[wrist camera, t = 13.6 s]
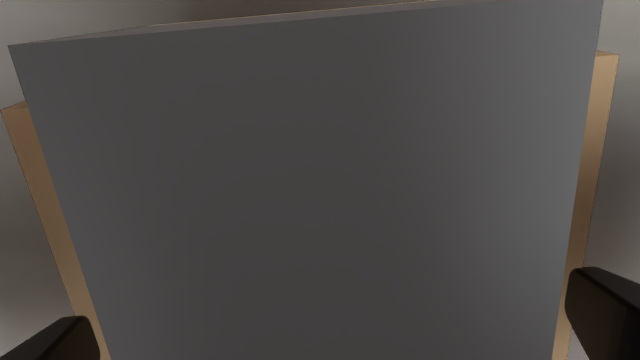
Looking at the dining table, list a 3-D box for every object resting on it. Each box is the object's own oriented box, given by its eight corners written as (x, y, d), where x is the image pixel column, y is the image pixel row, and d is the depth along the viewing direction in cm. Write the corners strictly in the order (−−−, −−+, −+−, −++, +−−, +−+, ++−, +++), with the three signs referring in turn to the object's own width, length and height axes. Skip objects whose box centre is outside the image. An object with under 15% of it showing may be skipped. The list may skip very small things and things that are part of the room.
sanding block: (442, 366, 10) (522, 566, 7) (229, 386, 10) (190, 600, 7) (451, -2, 7) (604, -7, 4) (154, 25, 7) (7, 45, 4)
